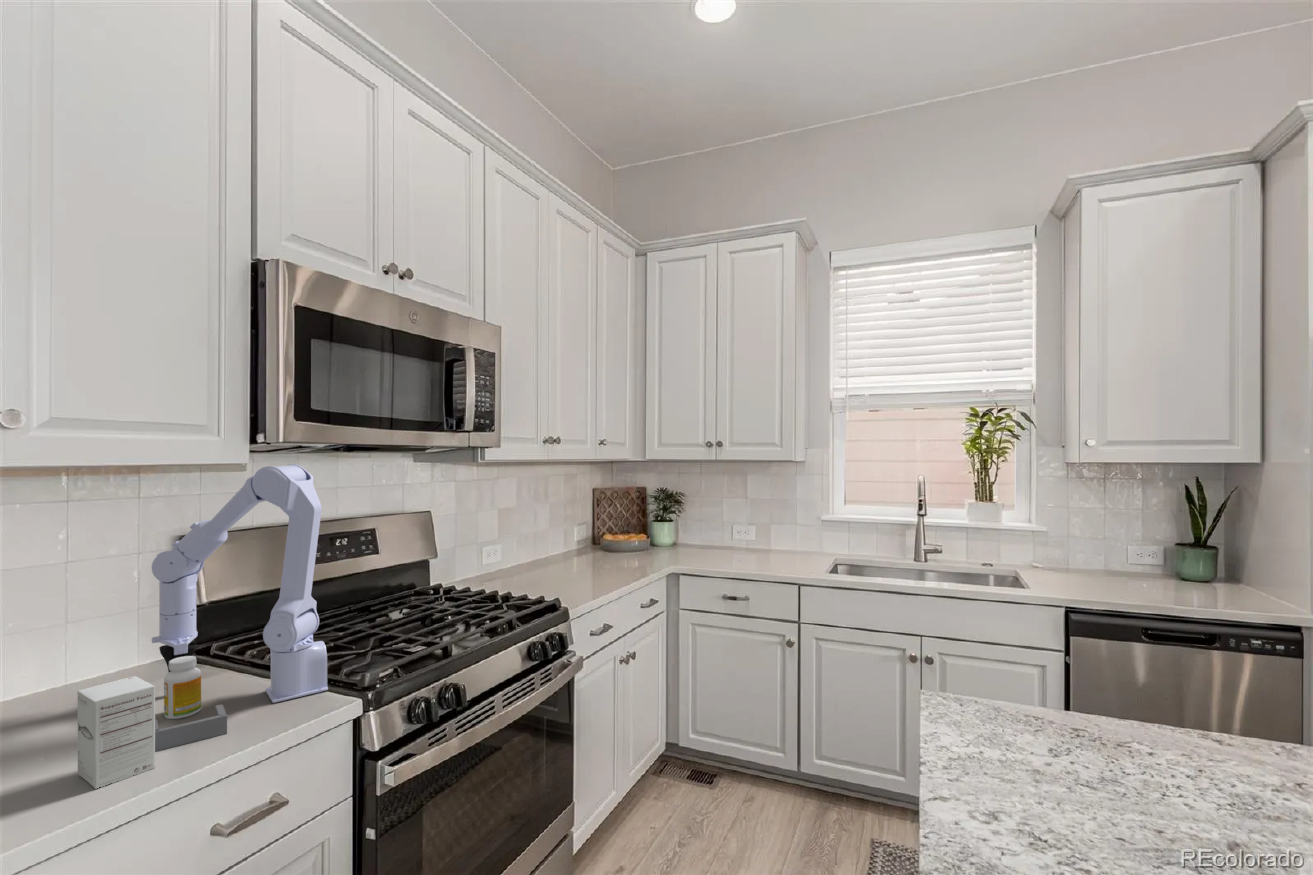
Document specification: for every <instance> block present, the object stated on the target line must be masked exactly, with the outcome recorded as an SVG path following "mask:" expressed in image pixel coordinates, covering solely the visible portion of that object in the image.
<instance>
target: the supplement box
mask: <svg viewBox="0 0 1313 875" xmlns="http://www.w3.org/2000/svg"><path fill="white" fill-rule="evenodd" d="M155 719H156V686H155V685H154V684H152V683H150V682H148V681H146V680H144V679H142V678H140V677H139V676H137V675H134V676H130V677H125V678H121V679H116V680H114V681H110V682H106V683H102V684H99V685H94V686H90V687H87V688H83V689H79V690H77V775H78V776H79V777H81V778H82V779H84V780H85V781H87V783H89V785H90V786H92V787H93V788H94V789H96V790H97V788H98V789H100V788H99V787H101V788H103V786H104V787H106V786H105V785H107V786H109V785H108V784H110V783H112V784H115V783H117V781H118V782H120V780H121V781H124V780H125V779H129V778H131V777H134V776H133V775H135V776H137V775H136V774H138V775H140V774H143V773H146V772H148V771H150V769H151V770H153V769H155V768H156V751H155ZM145 771H146V772H145ZM142 772H143V773H142ZM110 785H111V784H110Z"/></svg>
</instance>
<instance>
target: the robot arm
mask: <svg viewBox="0 0 1313 875" xmlns="http://www.w3.org/2000/svg"><path fill="white" fill-rule="evenodd" d="M314 478H315V477H314V476H313V475H312V474H311V473H310V472H309V471H308V470H306V469H305V468H304V467H303V466H302V465H299V464H296V463H292V464H291V463H290V464H287V465H278V466H274V465H273V466H272V465H270V466H269V465H268V466H264V467H261V468H260V469H258V470H256V472H255V473H254V475H251V477H249V478H247V479H246V480H245V481H244V484H243V486H241V488H239V490H238V491H237V492H236V493H235V495H233V496H232V497H231V498H230V499H229V501H228V502H227V503H226V504H225V505H224V506H223V507H222V508H221V509H220V510H219V511H218V512H217V514H216V515H214V517H212V519H203V520H201V521H197V522H193V523H192V524H191V525H190V527H189V529H191V530H189V531H188V532H187V533H186V534H185V536H183V537H182V538H181V539H180V540H177V541H175V542H173V544H171V545H172V548H171V550H164V551H162V552H159V553H158V554H157V555H156V557H155V558H154V559H153V561H152V563H151V572H152V575H153V576H154V577H155V579H157V580H158V581H159V583H158V586H159V588H158V589H159V590H158V592H159V596H158V597H159V600H158V601H159V606H158V608H159V611H158V612H159V614H158V615H159V619H158V620H159V629H158V630H159V631H158V633H159V635H158V636H153V637H151V643H152V644H156V643H160V644H163V645H162V646H161V645H160V646H159V648H158V650H159V653H160V654H161V656H162V658H163V660H164V661H165V663H166V665H167V671H168V672H167V673H169V672H171V671H170V670H169V661H170V660H172V659H175V658H179V657H184V656H194V653H195V652H196V650H197V648H198V646H197V642H196V640H195V639H196V638H197V637H198V635H199V634H198V633H199V632H198V630H197V582H198V576H199V574H200V572H201V571H202V570H203V568H204V564H205V561H206V560H208V558H209V557H210V556H211V555H213V553H214V552H216V550H218V549H219V548H220V547H221V546H223V544H224V543H225V542H226V541H227V540H228V537H229V536H228V535H229V534H228V530H229V529H230V528H232V527H233V526H234V525H235V524H236V523H237V522H239V520H241V519H243V517H245V516H246V514H247V513H249V512H250V511H251V510H252V509H253V508H254V507H256V506H257V505H258V504H260V503H262V502H268V503H270V504H272V505H274V506H275V507H278V508H279V509H280V510H282V511H283V512H284V513H285V515H287V516H288V525H287V533H286V543H285V549H284V558H283V565H282V574H281V579H280V580H281V582H280V590H279V598H278V600H277V601H276V603H275V604H274V606H273V608H272V609H271V611H270V616H269V617H270V618H269V620H268V622H267V623H266V625H265V626H264V628H263V632H262V638H263V642H264V644H265V645H266V646H267V647H268V648H269V651H270V687H265V690H264V691H265V693H266V694H267V696H268V698H269V699H270V701H271V703H272V704H273V703H279V702H284V701H288V700H291V699H296V698H300V697H301V698H302V697H304V696H309V695H313V694H317V693H318V694H319V693H321V692H326V691H328V690H329V687H328V653H327V647H326V644H325V642H324V641H323V640H319V641H318V640H317V641H314V634H315V632H316V631H317V630H318V629H319V625H320V616H319V614H318V611H317V603H318V602H317V600H315V599H314V598H313V596H312V590H313V583H314V573H315V566H316V557H317V551H318V550H317V549H318V540H319V532H320V526H321V518H322V511H323V510H322V508H323V507H322V503H321V501H320V498H319V496H318V493H317V491H316V488H315V486H314Z"/></svg>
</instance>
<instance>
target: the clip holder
mask: <svg viewBox="0 0 1313 875" xmlns="http://www.w3.org/2000/svg"><path fill="white" fill-rule="evenodd" d="M158 722H159V721H158V719H157V718H155V752H159V751H163V750H167V749H171V748H176V747H180V746H182V745H186V744H191V743H195V742H198V741H202V740H203V741H204V740H207V739H211V738H214V737H219V736H222V735H226V734H228V715H227V711H226V709H225V707H224V705H223V703H222V704H217V705H215V715H214V716H211V717H206V718H201V719H198V720H194V721H189V722H185V723H181V724H176V725H172V726H168V727H163V728H160V727H159V723H158Z"/></svg>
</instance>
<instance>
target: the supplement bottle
mask: <svg viewBox="0 0 1313 875" xmlns="http://www.w3.org/2000/svg"><path fill="white" fill-rule="evenodd" d="M196 666H197V656H194V655H192V656H184V657H179V658H175V659H172V660H170V661H169V670H170V671H171V672H167V673H166V675H164V677H163V715H164V718H166V719H168V720H177V719H178V720H179V719H184V718H188V717H191V716H193V715H194V716H195V715H196V714H197V713H199V712H200V711H201V710H202V671H201V669H200V668H198V667H196Z"/></svg>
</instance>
